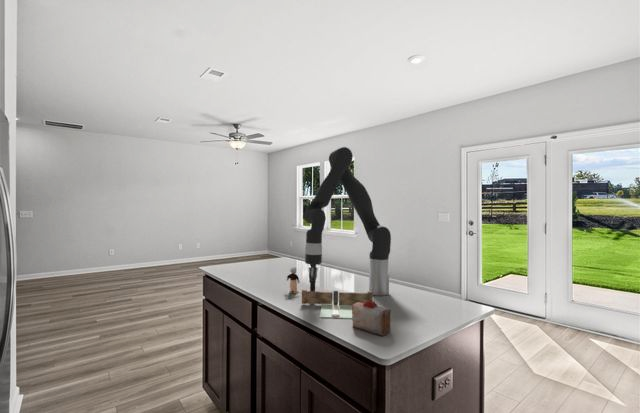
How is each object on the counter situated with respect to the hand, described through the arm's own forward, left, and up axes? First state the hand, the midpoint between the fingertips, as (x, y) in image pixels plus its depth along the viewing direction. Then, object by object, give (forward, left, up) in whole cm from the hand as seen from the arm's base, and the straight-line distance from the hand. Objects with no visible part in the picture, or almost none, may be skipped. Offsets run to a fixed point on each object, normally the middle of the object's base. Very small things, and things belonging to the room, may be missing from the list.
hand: (312, 291), depth 143 cm
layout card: (-16, +11, -4) cm, 20 cm away
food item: (-23, +30, -5) cm, 38 cm away
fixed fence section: (-19, +6, -4) cm, 20 cm away
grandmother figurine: (+11, -13, -5) cm, 17 cm away
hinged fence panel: (-4, +6, -4) cm, 8 cm away
